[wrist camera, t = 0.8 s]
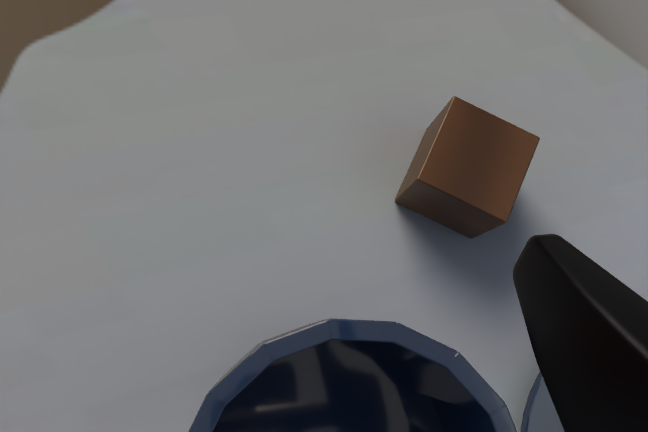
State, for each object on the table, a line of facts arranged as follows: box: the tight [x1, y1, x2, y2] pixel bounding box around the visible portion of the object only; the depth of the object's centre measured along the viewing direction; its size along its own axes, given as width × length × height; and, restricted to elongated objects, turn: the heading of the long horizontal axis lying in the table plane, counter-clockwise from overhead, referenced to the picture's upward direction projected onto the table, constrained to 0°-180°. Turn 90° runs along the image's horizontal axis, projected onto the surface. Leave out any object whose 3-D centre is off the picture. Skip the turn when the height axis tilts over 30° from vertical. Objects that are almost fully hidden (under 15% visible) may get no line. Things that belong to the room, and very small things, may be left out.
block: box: [395, 96, 540, 238], centre depth 28 cm, size 4×4×4 cm
